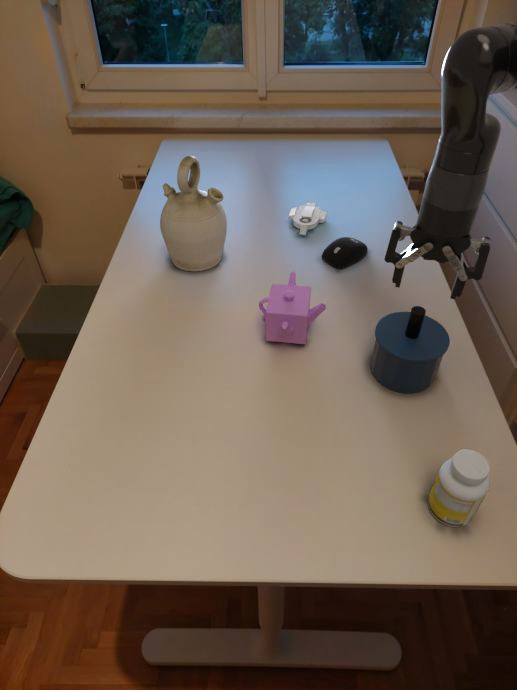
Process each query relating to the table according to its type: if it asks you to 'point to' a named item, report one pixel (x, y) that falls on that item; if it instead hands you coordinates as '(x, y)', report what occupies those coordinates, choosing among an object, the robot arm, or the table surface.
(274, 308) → the teapot
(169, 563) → the table surface
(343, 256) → the computer mouse
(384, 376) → the pot
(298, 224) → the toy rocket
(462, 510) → the pill bottle
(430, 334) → the lid
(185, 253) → the jug
